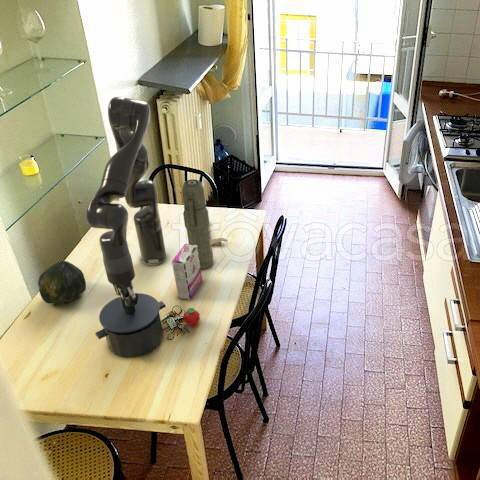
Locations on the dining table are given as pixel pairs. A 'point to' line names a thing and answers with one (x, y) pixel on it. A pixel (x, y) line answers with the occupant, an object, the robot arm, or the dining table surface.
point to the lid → (122, 322)
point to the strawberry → (191, 317)
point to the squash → (61, 283)
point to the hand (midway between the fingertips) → (129, 310)
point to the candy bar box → (187, 271)
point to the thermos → (197, 221)
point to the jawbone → (216, 241)
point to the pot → (135, 339)
